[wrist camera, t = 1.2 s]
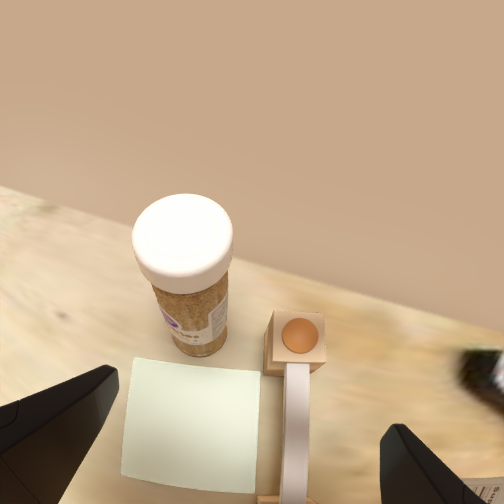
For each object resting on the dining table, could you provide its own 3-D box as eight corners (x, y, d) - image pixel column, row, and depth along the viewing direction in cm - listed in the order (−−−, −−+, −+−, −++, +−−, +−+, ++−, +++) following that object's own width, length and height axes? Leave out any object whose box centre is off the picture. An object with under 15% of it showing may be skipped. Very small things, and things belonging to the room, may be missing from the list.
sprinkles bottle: (162, 340, 23) (108, 243, 12) (191, 297, 25) (169, 178, 14) (211, 368, 22) (196, 293, 11) (238, 322, 24) (252, 212, 13)
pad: (254, 492, 16) (254, 493, 16) (121, 474, 16) (120, 474, 16) (259, 372, 22) (260, 371, 22) (135, 357, 22) (134, 356, 21)
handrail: (301, 530, 15) (321, 552, 10) (255, 532, 14) (263, 556, 10) (306, 336, 24) (325, 311, 20) (264, 334, 24) (274, 308, 20)
